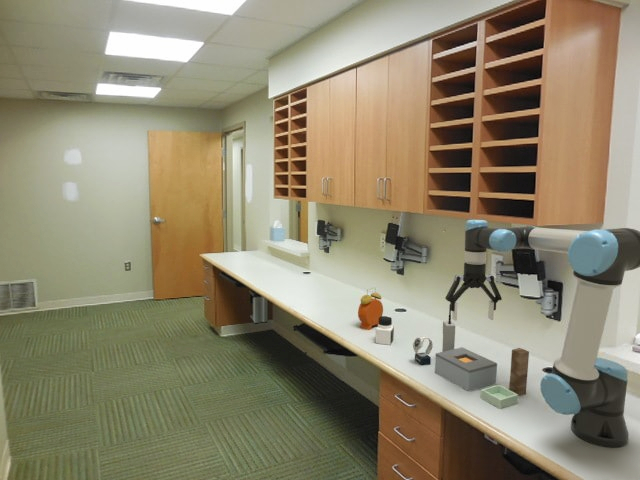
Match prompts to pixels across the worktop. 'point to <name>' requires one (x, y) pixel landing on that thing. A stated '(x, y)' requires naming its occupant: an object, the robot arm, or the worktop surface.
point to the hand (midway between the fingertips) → (472, 319)
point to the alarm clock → (370, 310)
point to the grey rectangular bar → (448, 334)
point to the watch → (422, 357)
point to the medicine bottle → (385, 331)
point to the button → (465, 359)
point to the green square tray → (499, 396)
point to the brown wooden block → (519, 371)
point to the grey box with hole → (466, 369)
